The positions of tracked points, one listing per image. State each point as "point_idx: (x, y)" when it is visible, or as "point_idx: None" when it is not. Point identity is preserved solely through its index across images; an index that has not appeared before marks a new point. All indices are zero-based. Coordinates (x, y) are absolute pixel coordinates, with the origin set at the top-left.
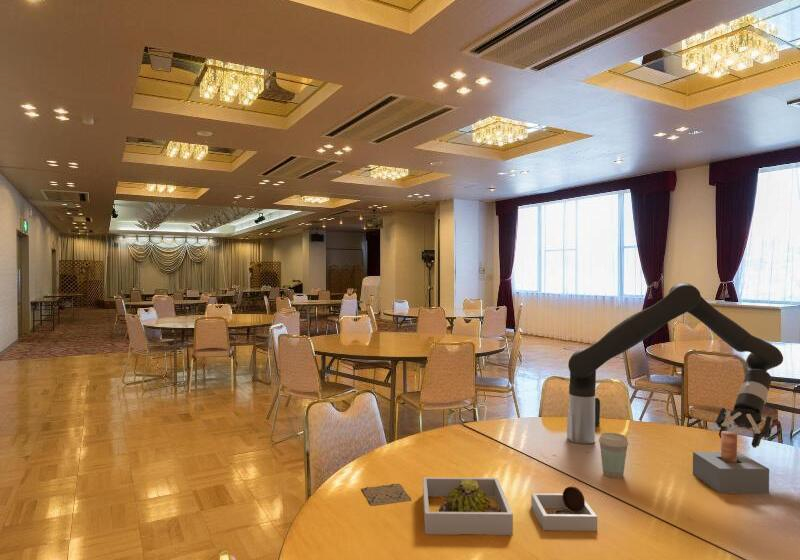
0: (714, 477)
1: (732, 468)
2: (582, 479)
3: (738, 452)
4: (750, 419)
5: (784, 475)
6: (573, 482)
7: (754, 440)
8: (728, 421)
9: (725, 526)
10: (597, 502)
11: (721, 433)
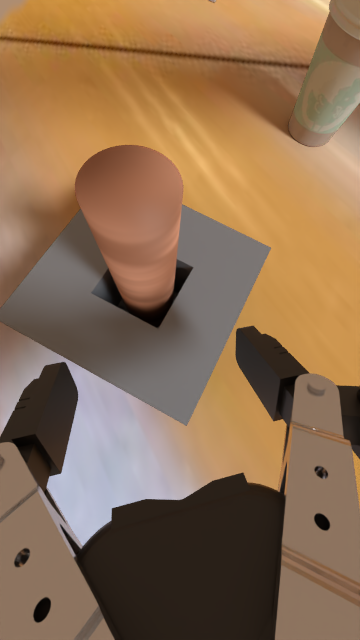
0: None
1: None
2: None
3: (181, 416)
4: (61, 631)
5: None
6: (301, 54)
7: (41, 380)
8: (315, 430)
9: (30, 99)
10: (214, 27)
11: (167, 164)
